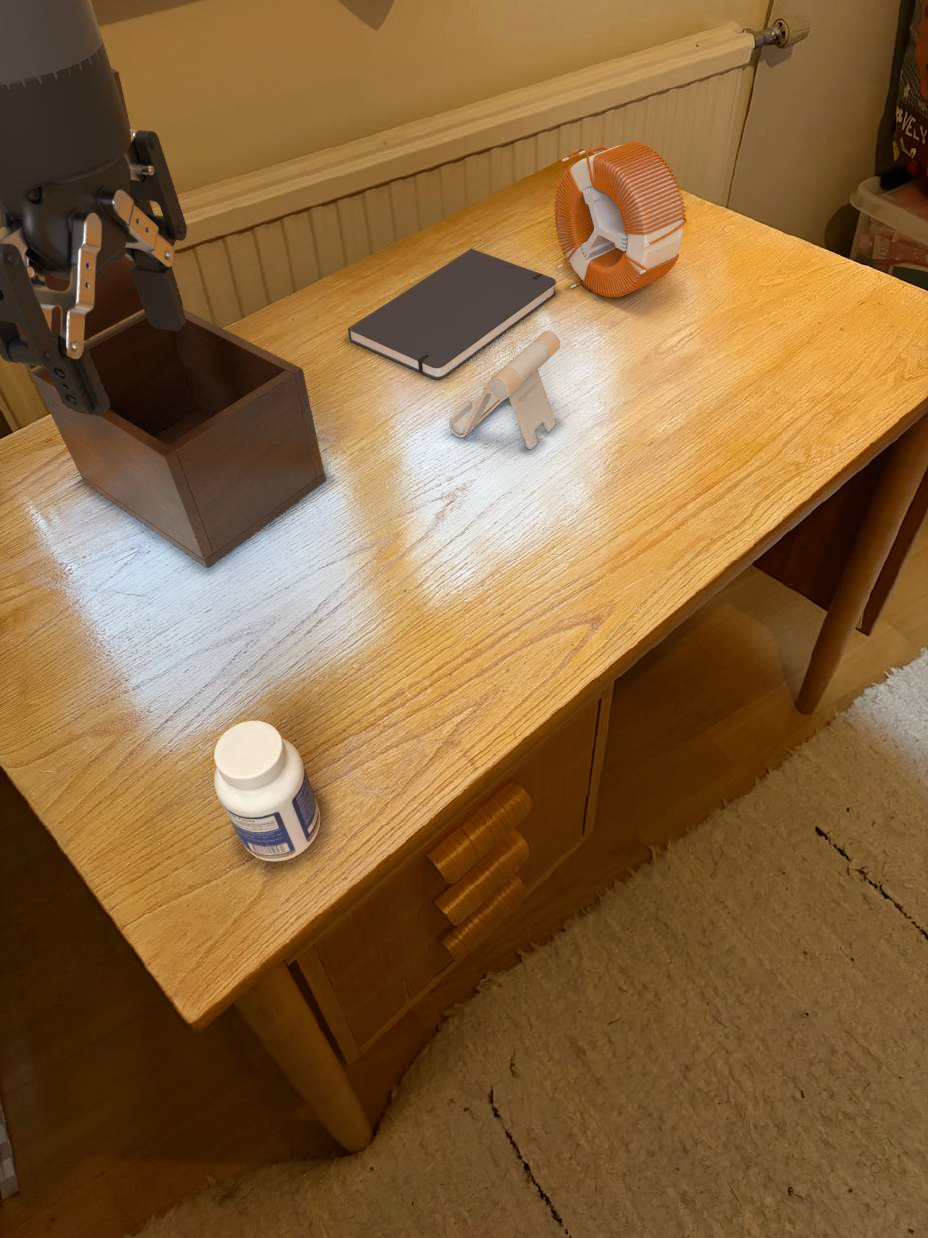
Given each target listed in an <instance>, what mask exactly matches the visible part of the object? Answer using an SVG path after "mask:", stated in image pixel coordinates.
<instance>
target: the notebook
mask: <svg viewBox="0 0 928 1238" xmlns="http://www.w3.org/2000/svg"><path fill="white" fill-rule="evenodd" d="M556 284H557V280H556V279H555V278H553V277H551V276H548V275H546V274H544V273H541V272H537V271H534V270H532V269H529V268H526V267H524V266H521V265H518V264H515V263H512V262H509V261H507V260H505V259H501V258H498V257H496V256H493V255H491V254H487V253H485V252H483V251H479V250H477V249H473V248H470V249H468V250H467V251H465V252H464V253H462V254H461V255H458V256H457V257H456V258H454V259H453V260H451V261H449V262H448V263H447V264H445V265H443V266H442V267H440V268H439V269H438V270H435V271H434V272H433V273H431V274H430V275H428V276H427V277H425V278H424V279H422V280H420V281H419V282H417V283H416V284H414V285H413V286H411V287H409V288H408V289H407V290H405V291H403V292H402V293H400V294H399V295H397V296H396V297H394V298H392V299H391V300H390V301H388V302H386V303H385V304H383V305H381V306H380V307H378V308H377V309H375V310H374V311H373V312H371V313H369V314H367V316H365V317H363V318H361V319H360V320H358V321H357V322H356V323H354V324H352V325H351V326H349V327H348V328H347V331H348V339H349V342H350V343H353V344H355V345H357V346H360V347H362V348H364V349H365V350H366V349H367V350H368V351H371V352H373V353H376V354H378V355H379V356H382V357H384V358H387V359H389V360H390V361H393V362H395V363H398V364H400V365H402V366H404V367H406V368H408V369H411V370H413V371H415V372H417V373H419V374H421V375H424V376H425V377H428V378H431V379H433V380H442V379H444V378H446V377H447V376H448V375H450V374H451V373H452V372H454V371H455V370H456V369H457V368H459V367H460V366H461V365H463V364H465V363H466V362H467V361H468V360H470V359H471V358H472V357H475V355H477V354H478V353H479V352H480V351H482V350H483V349H485V348H486V347H487V346H488V345H490V344H491V343H493V342H494V341H495V340H497V339H498V338H500V337H501V336H502V335H504V334H505V333H506V332H507V331H509V330H511V329H512V328H513V327H514V326H515V325H517V324H518V323H519V322H521V321H522V320H523V319H525V318H526V317H527V316H529V315H531V314H532V313H533V312H534V311H535V310H537V309H538V308H540V307H541V306H542V305H544V304H545V303H546V302H548V301H549V300H550V299H552V298H553V297H554V296H555V295H556V291H555V285H556Z"/></svg>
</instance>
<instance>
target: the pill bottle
mask: <svg viewBox="0 0 928 1238" xmlns="http://www.w3.org/2000/svg"><path fill="white" fill-rule="evenodd" d="M213 759H214V763H215V765H216V768H215V772H214V777H213V785H214V789H215V793H216V795H217V798H218V800H219V802H220V804H221V806H222V807H223V809H224V812H225V813H226V815H227V817H228V819H229V821H230V822H231V824H232V827H233V829H234V830H235V832H236V833H237V836H238V837H239V840H240V841H241V843H242V845H243V846H244V848H245V849H246V850H247V852H248V853H250V854H251V856H254V857H255V858H257V859H259V860H263V861H266V862H283V861H287V860H290V859H293V858H294V857H297V856H299V855H300V854H301V853H303V852H304V851H306V850H307V849H308V847H309V846H310V845H311V844H312V843H313V842H314V841H315V839H316V837H317V835H318V833H319V830H320V827H321V812H320V808H319V804H318V801H317V799H316V795H315V793H314V791H313V787H312V785H311V780H310V779H309V776H308V773H307V771H306V768H305V767H306V766H305V764H304V762H303V759H302V757H301V755H300V753H299V751H298V749H297V748H296V747H295V746H294V745H293V743H291V742H290V741H288V740H287V739H285V738H283V737H282V736H281V733H280V732H279V731H278V729H277V728H276V727H275V726H273V725H272V724H270V723H268V722H266V721H263V720H252V719H251V720H246V721H242V722H239V723H237V724H234V725H233V726H231V727H230V728H228V729H227V730H226V731H224V732H223V733H222V735H221V736H220V738H219V739H218V741H217V742H216V745H215V748H214V753H213Z"/></svg>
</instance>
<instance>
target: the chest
mask: <svg viewBox="0 0 928 1238" xmlns="http://www.w3.org/2000/svg"><path fill="white" fill-rule="evenodd" d="M183 312H184V315H185V318H186V323H185V324H184V325H183V326H182V327H181V329H180V330H178V331H171V330H165V329H158V328H155V327H153V326H152V325H150V323H149V322H148V320H147V317H146V314H145V311H142V312H140V313H139V314H136V315H135V316H133V317H131V318H129V319H128V320H126V321H125V320H124V321H123V322H122V323H120V324H118V325H116V326H114V327H112V328H111V329H109V330H107V331H105V332H103V333H101V334H99V335H97V336H95V337H94V338H92V339H90V340H88V341H86V342H84V350H89V353H90V355H91V358H92V360H93V363H94V365H95V367H96V370H97V372H98V375H99V377H100V380H101V382H102V384H103V387H104V389H105V392H106V394H107V397H108V399H109V402H110V407H109V409H108V410H107V411H106V412H105V413H104V414H103V415H102V416H96V415H90V414H84V413H79V412H76V411H74V410H73V409H68V408H67V407H66V406H65V405H64V404H63V403H62V401H61V399H60V397H59V393H58V392H57V390H56V387H55V386H54V384H53V381H52V379H51V377H50V375H49V373H48V371H47V368H44V367H40V366H39V367H38V368H37V369H34V370H33V371H31V372H30V374H31V377H32V378H33V380H34V382H35V385H36V387H37V388H38V391H39V393H40V395H41V397H42V399H43V401H44V403H45V405H46V407H47V409H48V411H49V414H50V415H51V417H52V419H53V422H54V423H55V426H56V429H57V430H58V432H59V434H60V436H61V438H62V441H63V442H64V443H65V446H66V449H67V451H68V452H69V454H70V457H71V459H72V461H73V463H74V466H75V467H76V469H77V471H78V473H79V475H80V478H81V480H82V481H83V484H85V485H86V486H88V487H89V488H91V489H92V490H94V491H95V492H97V493H98V494H100V495H101V496H103V497H104V498H105V499H107V500H108V501H109V502H111V503H113V504H114V505H116V506H117V507H118V508H119V509H121V510H123V511H124V512H125V513H127V514H128V515H130V516H131V517H133V518H134V519H136V520H137V521H139V523H141V524H142V525H144V526H145V527H147V528H149V529H150V530H151V531H153V532H155V534H157V535H159V536H160V537H162V538H163V540H166V541H167V542H169V543H170V544H172V545H173V546H174V547H176V548H177V549H179V550H180V551H182V552H183V553H185V554H186V555H187V556H188V557H190V558H192V559H193V560H194V561H196V562H197V563H199V564H201V565H202V566H203V567H205V568H206V569H209V568H210V567H212V566H213V565H215V564H216V563H217V562H219V561H221V559H223V558H225V557H226V556H227V555H228V554H229V553H231V552H232V551H233V550H235V549H236V548H238V547H240V546H241V545H242V544H243V543H244V542H246V541H247V540H249V539H250V538H251V537H253V536H254V535H255V534H257V533H258V532H259V531H260V530H262V529H263V528H265V527H266V526H268V525H269V524H270V523H271V522H273V521H274V520H276V519H277V518H278V517H279V516H281V515H282V514H284V513H285V512H286V511H287V510H290V509H291V507H293V506H294V505H295V504H297V503H299V502H300V501H301V500H303V499H304V498H305V497H307V496H308V495H309V494H311V493H312V492H313V491H315V490H316V489H317V488H318V487H320V486H321V485H322V484H324V483H325V482H327V479H326V475H325V470H324V465H323V461H322V456H321V455H322V454H321V450H320V446H319V441H318V440H319V439H318V436H317V431H316V427H315V426H316V425H315V422H314V417H313V412H312V407H311V402H310V397H309V393H308V387H307V383H306V378H305V373H304V369H303V368H302V367H300V366H298V365H296V364H294V363H292V362H290V361H289V360H286V359H284V358H282V357H280V356H278V355H276V354H274V353H273V352H270V351H268V350H266V349H264V348H262V347H260V346H258V345H256V344H254V343H252V342H250V341H249V340H246V339H244V338H242V337H240V335H237V334H234V333H233V332H231V331H229V330H227V329H224V328H222V327H221V326H219V325H216V324H215V323H212V322H211V321H209V320H207V319H205V318H203V317H200V316H199V315H197V314H195V313H193V312H191V311H189V310H187V309H185V308H183Z"/></svg>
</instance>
